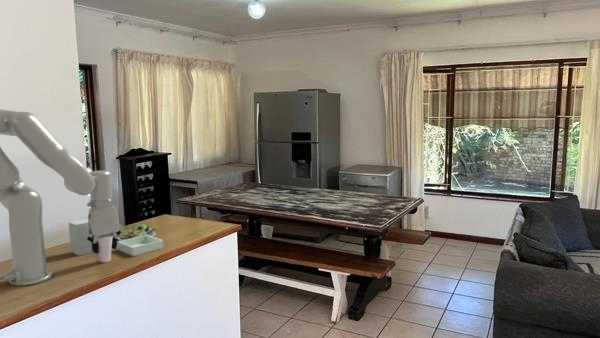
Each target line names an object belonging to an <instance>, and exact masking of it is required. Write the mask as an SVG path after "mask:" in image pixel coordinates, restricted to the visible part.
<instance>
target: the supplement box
mask: <svg viewBox="0 0 600 338" xmlns="http://www.w3.org/2000/svg"><path fill="white" fill-rule="evenodd" d="M87 227H88V218H83V219H78V220H73V221H69V222H68V231H69V232H68V233H69V240H70V241H69V242H70V253H72V254H73V255H76V256H79V257H80V256H82V255H87V254H91V253H94V252H93V251H92V243H91V242H90V241H89V240H87V239H86V238H84V237H83V236H82V234H83V232H84V231H85V230H86V229H87ZM88 236H90V237H91V236H92V234H89V233H88Z"/></svg>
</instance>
